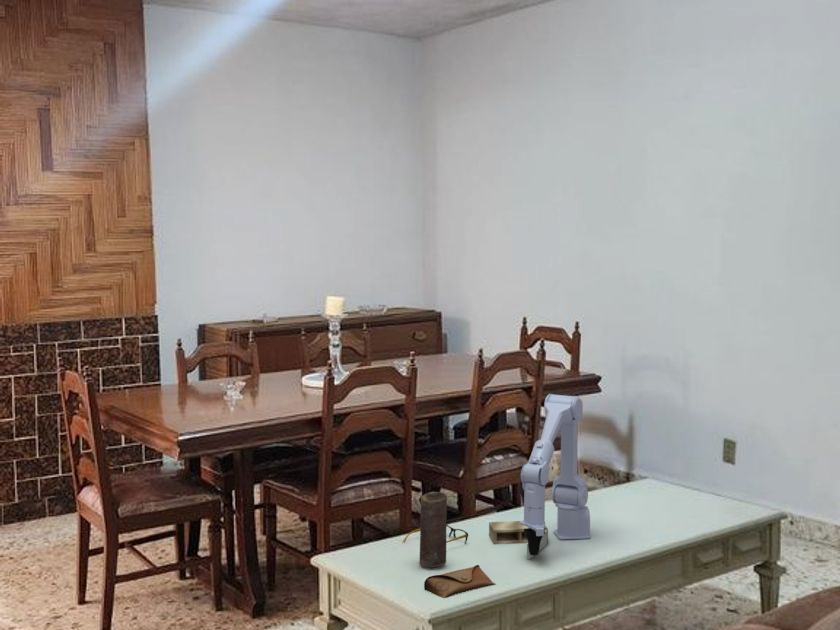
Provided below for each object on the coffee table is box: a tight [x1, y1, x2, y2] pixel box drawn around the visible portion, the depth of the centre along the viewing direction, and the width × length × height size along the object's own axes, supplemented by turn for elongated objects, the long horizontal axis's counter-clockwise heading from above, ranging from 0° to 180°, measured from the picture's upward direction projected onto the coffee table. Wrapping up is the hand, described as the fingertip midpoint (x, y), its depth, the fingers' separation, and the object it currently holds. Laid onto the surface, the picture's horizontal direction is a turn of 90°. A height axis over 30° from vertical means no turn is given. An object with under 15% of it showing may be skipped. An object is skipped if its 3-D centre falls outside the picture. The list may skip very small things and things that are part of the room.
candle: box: [419, 491, 448, 569], centre depth 269 cm, size 8×7×20 cm
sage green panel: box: [526, 528, 549, 560], centre depth 282 cm, size 16×1×4 cm, turn 154°
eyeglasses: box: [401, 524, 469, 544], centre depth 289 cm, size 14×14×4 cm
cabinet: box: [488, 520, 548, 545], centre depth 293 cm, size 16×8×4 cm, turn 96°
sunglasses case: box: [423, 564, 497, 599], centre depth 255 cm, size 18×7×7 cm, turn 125°
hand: (533, 554), depth 274 cm, fingers closed, pressing on sage green panel
